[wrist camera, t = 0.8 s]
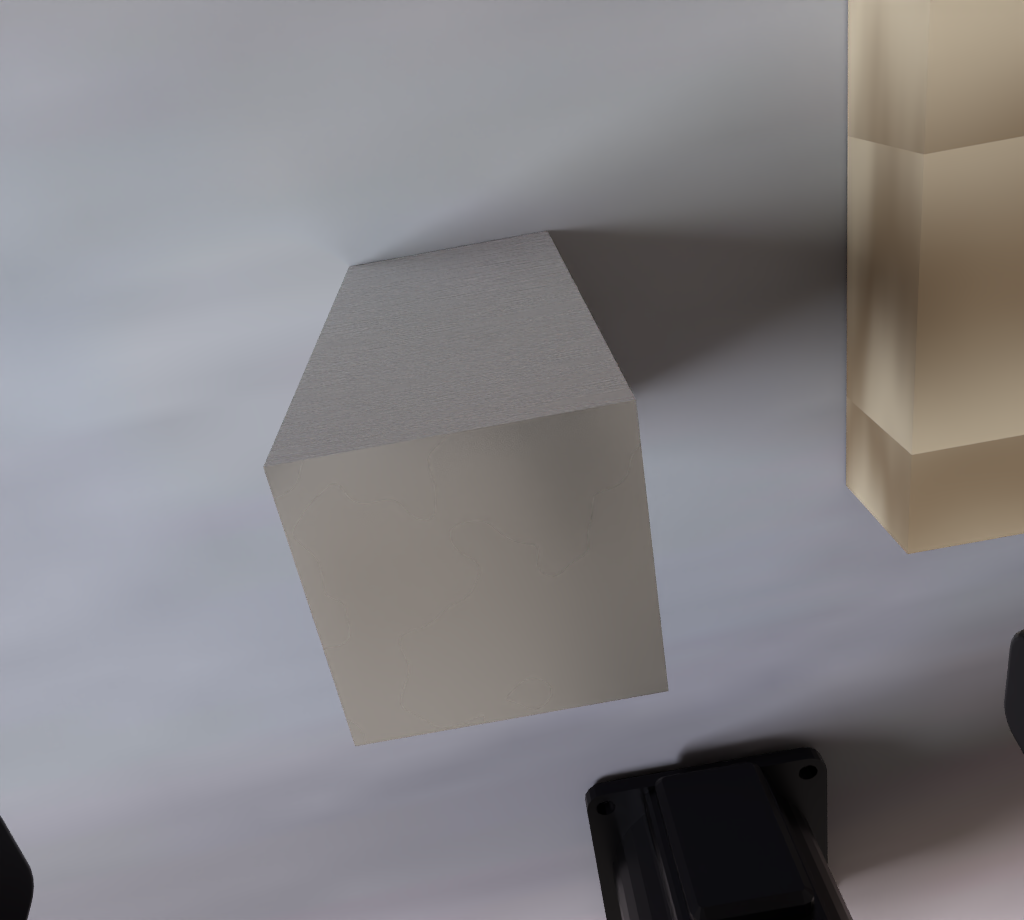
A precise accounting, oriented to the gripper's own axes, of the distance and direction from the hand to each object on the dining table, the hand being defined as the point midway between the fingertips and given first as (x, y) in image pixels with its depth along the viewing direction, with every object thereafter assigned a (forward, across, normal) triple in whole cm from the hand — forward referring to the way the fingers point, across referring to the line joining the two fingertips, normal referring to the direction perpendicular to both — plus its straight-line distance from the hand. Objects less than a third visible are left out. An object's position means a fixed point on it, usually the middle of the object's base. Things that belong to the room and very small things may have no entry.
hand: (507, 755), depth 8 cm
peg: (+12, 0, 0) cm, 12 cm away
